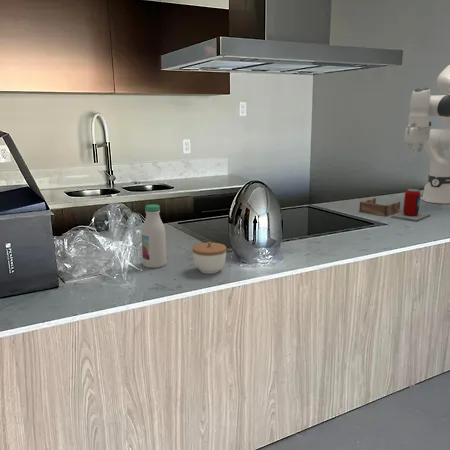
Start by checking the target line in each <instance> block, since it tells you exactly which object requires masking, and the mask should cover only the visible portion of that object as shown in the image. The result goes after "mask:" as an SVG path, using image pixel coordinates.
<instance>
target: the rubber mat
mask: <svg viewBox="0 0 450 450" xmlns="http://www.w3.org/2000/svg"><path fill="white" fill-rule="evenodd" d="M390 217H391V219H398V220H403V221H409V222H416V223H417V222H420V221H422V220H425V219H427V218H429V217H431V214H429V213H423V212H418V215H416V216H407V215H405V214H404V213H403V211H401V212H400V211H399V212H397V213H394V214H391V215H390Z"/></svg>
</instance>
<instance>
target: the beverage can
mask: <svg viewBox="0 0 450 450" xmlns="http://www.w3.org/2000/svg"><path fill="white" fill-rule="evenodd" d="M420 198H421V192H420V190H419V189H417V188H407V190H406V191H405V192H404V198H403V199H404V201H403V210H402V212H403V213H404V214H405V215H407V216H416V215H418V213H420V202H421V199H420Z"/></svg>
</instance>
